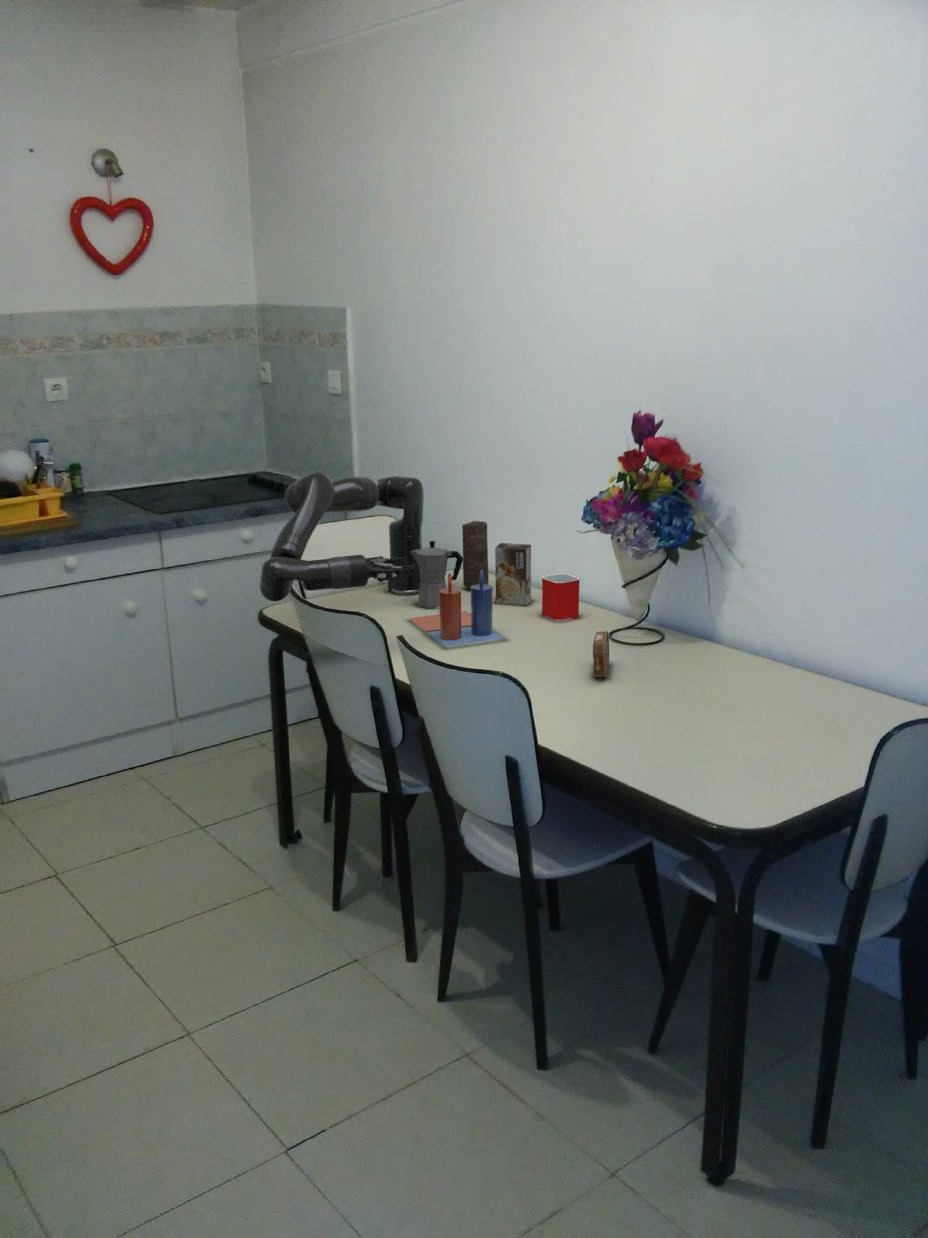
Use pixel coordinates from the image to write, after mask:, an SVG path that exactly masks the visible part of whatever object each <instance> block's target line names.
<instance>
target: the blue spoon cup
mask: <svg viewBox="0 0 928 1238" xmlns="http://www.w3.org/2000/svg"><path fill="white" fill-rule="evenodd" d="M470 615H471V633H472V634H473V635H476V636H487V635H491V634H492V633H493V631H494V630H493V626H494V625H493V621H494V620H493V586H492V585H490V584H489V585H486V584H483V570H480V584H477V585H473V586H471V589H470Z"/></svg>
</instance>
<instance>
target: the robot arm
mask: <svg viewBox="0 0 928 1238" xmlns="http://www.w3.org/2000/svg"><path fill="white" fill-rule="evenodd" d="M284 493H285V495H284V500H285V504H286V506H287V507H288V509H290V511H291V512H292V513H294V514H293V515H292V516H291V517H290V519H288V521H287V522H286V524H285V525H284V526H283V527H282V529H281V530H280V532H279V533H278V535H277V537H276V539H275V542H274V544H273V547H272V549H271V552H270V558H268V559H267V560H266V561H264V562H263V564H262V567H261V572H260V578H259V579H260V580H259V591H260V593H261V595H262V596H263V597H264V598H265V599H266V600H267V601H270V602H279V601H282V600H284V599H286V598H287V597H288V595H289V594H290V592H291V590H292V587H293V584H294V581H300V585H301V586H302V589H304V590H305V591H310V592H311V591H312V592H313V591H323V590H343V589H350V588H360V587H365V586H367V585H368V582H369V579H370V578H373V579H374V580H376V581H377V582H379V583H383V582H386V581H387V592H391V593H392V594H396V595H416V594H419V591H420V583H421V576H420V572H419V566H418V563H417V561H416V560H415V558H414V556H413V555H412V554H411V553H410V552H411V551H412V550H417V549H423V546H422V545H423V544H422V543H423V541H422V539H423V538H422V527H423V523H424V522H423V521H424V502H425V500H424V498H425V497H424V496H425V495H424V485H423V483H422V482H421V480H420V479H419V478H417V477H409V476H399V475H393V476H388V477H384V478H378V479H377V478H376V479H374V478H371V477H367V476H347V477H343V478H340V479H336V480H333V481H332V480H331V478H330V477H329V476H328V475H327V474H326V473H324V472H321V471H314V472H311V473H309V474H306V475H304V476H303V477H301V478H299V479H296V480H295V481H293V482H292V483H291V484H290V485H289V486H288V487H287V488H286V491H285V492H284ZM375 507H383V508H389V509H394V510H403V514H402V518H400V519H397V520H394V521H392V522H390V523H389V524H388V535H389V536H388V537H389V557H384V556H382V555H381V556H371V557H365V556H364V555H363V554H354V555H342V556H333V557H328V558H324V559H321V558H320V559H313V560H306V559H302V558H303V555H304V553H305V550H306V548H307V545H308V543H309V541H310V539H311V537H312V535H313V533H314V531H315V529H316V528H317V526H318V524H319V523H320V522H321V520H322V518H323V517H324V515H325V513H348V512H350V513H355V512H356V513H357V512H367V511H371V510H373V509H374V508H375ZM289 586H291V587H289Z"/></svg>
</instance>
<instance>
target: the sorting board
mask: <svg viewBox="0 0 928 1238" xmlns="http://www.w3.org/2000/svg"><path fill="white" fill-rule="evenodd" d="M408 619H409V620H410V621H412V622H413V623H414V624H415V625H416V626H418V627H419V628H421V629H422V630H423V631H424V632H425V633H426V634H428V635H430V636H431V638H433V639H435V640H436V641H437V642H439V644H441V645H442V646H444V647H445V648H447V647H448V648H449V647H453V646H461V645H469V644H476V643H482V642H483V643H484V642H491V641H497V640H504V639H506V638H505V637H504V636H502V635H501V634H500V633H498V632H496V631H495V630H493V633H492V634H491V635H487V636H476V635H473V634H472V633H471V614H470V613H468V612H467V611H461V636H462V637H461V638H460V639H457V640H443V639H441V638H440V614H434V615H433V614H432V615H425V616H416V617H410V618H408Z"/></svg>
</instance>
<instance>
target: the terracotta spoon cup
mask: <svg viewBox="0 0 928 1238" xmlns="http://www.w3.org/2000/svg"><path fill="white" fill-rule="evenodd" d="M452 576H453V574H452V573H451V572H449V573H447V587H446V588H444V589H441V590H439V608H438V609H439V613H438V615H440V638H441V639H443V640H457V639H460V638H461V637H462V636H461V612H462V590H461V589H460V588H457V587H453V580H452Z"/></svg>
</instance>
